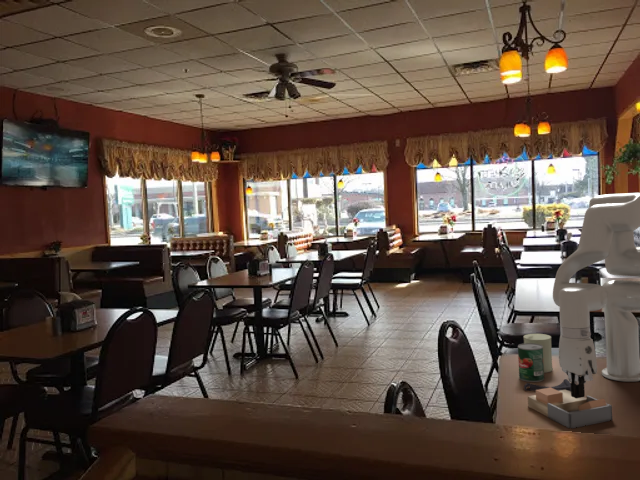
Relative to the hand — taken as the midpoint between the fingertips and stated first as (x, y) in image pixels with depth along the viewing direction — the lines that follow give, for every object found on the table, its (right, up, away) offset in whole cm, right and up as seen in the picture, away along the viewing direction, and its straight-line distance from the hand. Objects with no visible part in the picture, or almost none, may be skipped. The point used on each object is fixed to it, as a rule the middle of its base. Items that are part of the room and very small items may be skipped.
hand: (577, 396), depth 153 cm
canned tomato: (-1, -3, +30) cm, 30 cm away
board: (-4, -4, +3) cm, 7 cm away
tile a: (+1, 0, -4) cm, 5 cm away
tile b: (-7, -2, +2) cm, 8 cm away
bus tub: (-2, -5, -5) cm, 7 cm away
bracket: (0, -4, +19) cm, 19 cm away
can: (+5, -2, +40) cm, 40 cm away
